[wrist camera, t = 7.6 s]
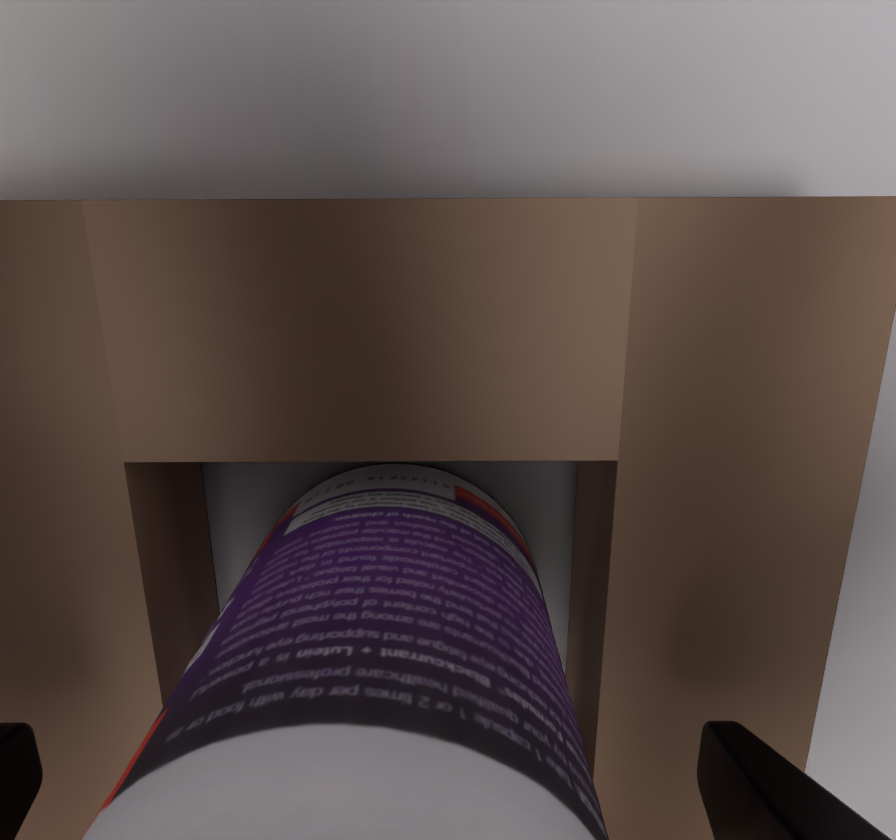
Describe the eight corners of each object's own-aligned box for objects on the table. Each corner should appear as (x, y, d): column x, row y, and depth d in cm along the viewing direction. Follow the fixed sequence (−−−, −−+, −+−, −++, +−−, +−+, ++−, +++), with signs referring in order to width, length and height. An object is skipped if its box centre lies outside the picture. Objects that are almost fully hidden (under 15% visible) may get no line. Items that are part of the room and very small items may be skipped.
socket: (804, 208, 10) (1027, 184, 6) (708, 856, 14) (807, 1090, 10) (-42, 212, 10) (-346, 191, 6) (96, 857, 14) (-39, 1091, 10)
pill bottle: (231, 480, 11) (-784, 1570, 2) (516, 435, 11) (880, 1428, 2) (297, 716, 13) (-110, 1984, 3) (550, 681, 13) (848, 1933, 3)
